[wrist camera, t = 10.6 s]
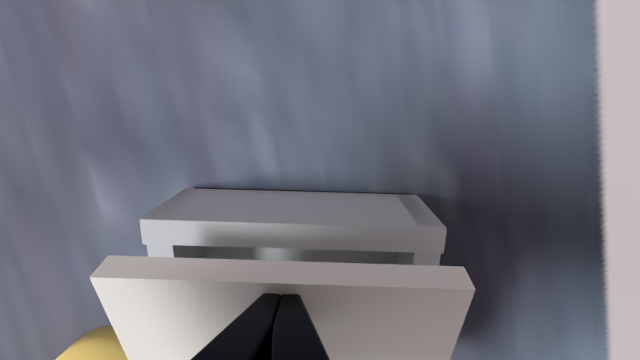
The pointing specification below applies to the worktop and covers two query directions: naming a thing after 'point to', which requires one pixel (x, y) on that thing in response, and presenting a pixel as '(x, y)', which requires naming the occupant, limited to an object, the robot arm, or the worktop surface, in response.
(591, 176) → the worktop surface
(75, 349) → the yellow rounded disc
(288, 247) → the grey frame
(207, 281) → the lid
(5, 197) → the worktop surface
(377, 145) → the worktop surface
